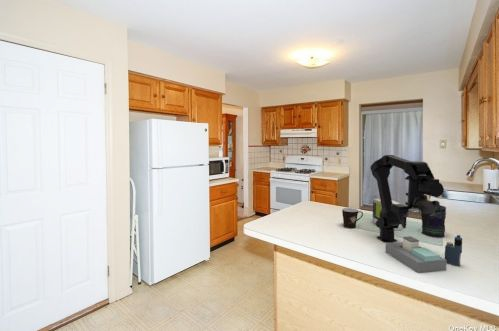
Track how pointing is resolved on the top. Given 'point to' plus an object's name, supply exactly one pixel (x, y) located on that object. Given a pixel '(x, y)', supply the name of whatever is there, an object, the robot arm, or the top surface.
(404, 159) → the robot arm
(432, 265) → the socket
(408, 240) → the grey tall block
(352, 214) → the coffee mug
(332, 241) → the top surface
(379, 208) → the tea box
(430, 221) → the storage jar
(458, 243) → the vaping device
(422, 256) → the teal rectangular block
